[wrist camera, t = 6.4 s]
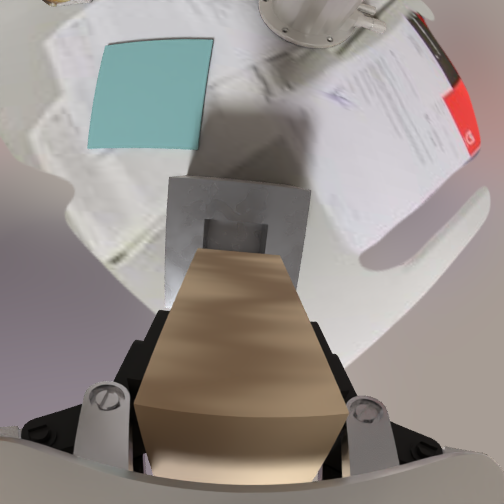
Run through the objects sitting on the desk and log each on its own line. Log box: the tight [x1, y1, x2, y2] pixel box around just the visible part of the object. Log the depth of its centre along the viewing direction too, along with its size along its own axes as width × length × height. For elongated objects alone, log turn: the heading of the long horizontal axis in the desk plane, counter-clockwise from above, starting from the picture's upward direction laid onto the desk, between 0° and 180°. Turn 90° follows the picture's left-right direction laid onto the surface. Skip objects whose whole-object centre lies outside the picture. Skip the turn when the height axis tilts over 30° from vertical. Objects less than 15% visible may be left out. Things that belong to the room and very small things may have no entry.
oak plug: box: [134, 248, 349, 485], centre depth 11 cm, size 4×4×11 cm
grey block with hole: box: [165, 175, 311, 308], centre depth 29 cm, size 12×12×9 cm
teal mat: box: [87, 39, 213, 150], centre depth 28 cm, size 14×14×1 cm
